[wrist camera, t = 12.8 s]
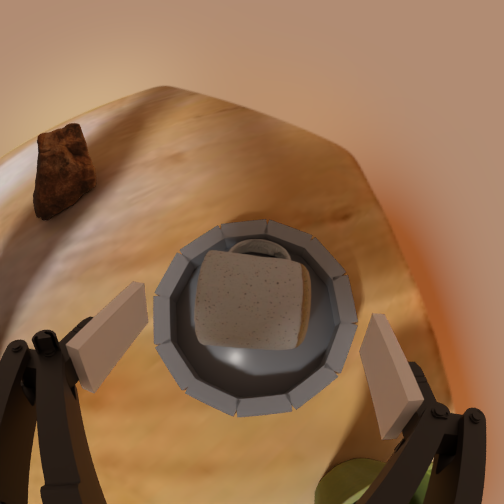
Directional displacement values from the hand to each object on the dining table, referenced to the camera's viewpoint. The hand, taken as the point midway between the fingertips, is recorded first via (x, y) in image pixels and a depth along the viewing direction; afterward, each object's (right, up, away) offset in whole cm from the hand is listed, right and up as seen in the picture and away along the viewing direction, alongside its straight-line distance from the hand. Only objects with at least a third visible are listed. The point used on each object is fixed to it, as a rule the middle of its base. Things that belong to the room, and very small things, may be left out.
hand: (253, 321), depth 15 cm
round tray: (0, -2, +10) cm, 10 cm away
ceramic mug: (0, 0, +10) cm, 10 cm away
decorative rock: (-25, +12, +18) cm, 33 cm away
